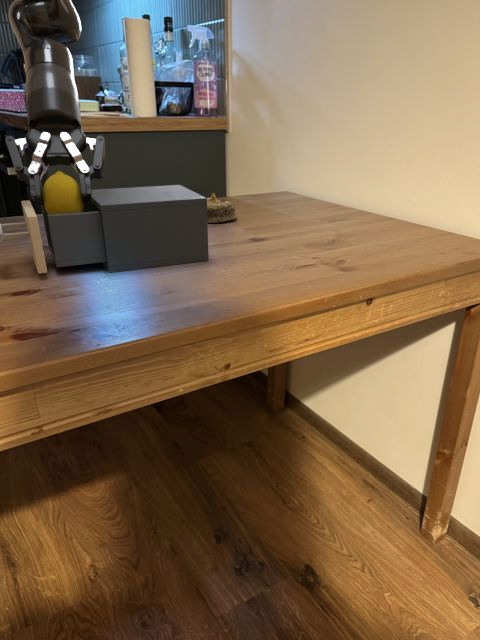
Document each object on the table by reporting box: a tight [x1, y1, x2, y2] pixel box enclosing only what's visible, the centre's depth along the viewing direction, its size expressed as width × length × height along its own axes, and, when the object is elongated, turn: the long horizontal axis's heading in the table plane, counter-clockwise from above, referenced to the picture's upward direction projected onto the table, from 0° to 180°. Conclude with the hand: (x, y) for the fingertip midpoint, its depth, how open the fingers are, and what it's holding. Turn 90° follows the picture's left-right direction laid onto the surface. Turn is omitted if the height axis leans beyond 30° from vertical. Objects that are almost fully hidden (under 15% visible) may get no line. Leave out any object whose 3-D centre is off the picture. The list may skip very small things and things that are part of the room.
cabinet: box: [90, 184, 210, 274], centre depth 80 cm, size 16×13×10 cm
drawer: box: [0, 200, 107, 274], centre depth 74 cm, size 19×12×8 cm, turn 117°
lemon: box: [42, 170, 84, 215], centre depth 73 cm, size 6×6×8 cm
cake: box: [206, 192, 238, 224], centre depth 105 cm, size 10×10×5 cm
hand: (62, 200), depth 71 cm, fingers closed on lemon, 5 cm apart
